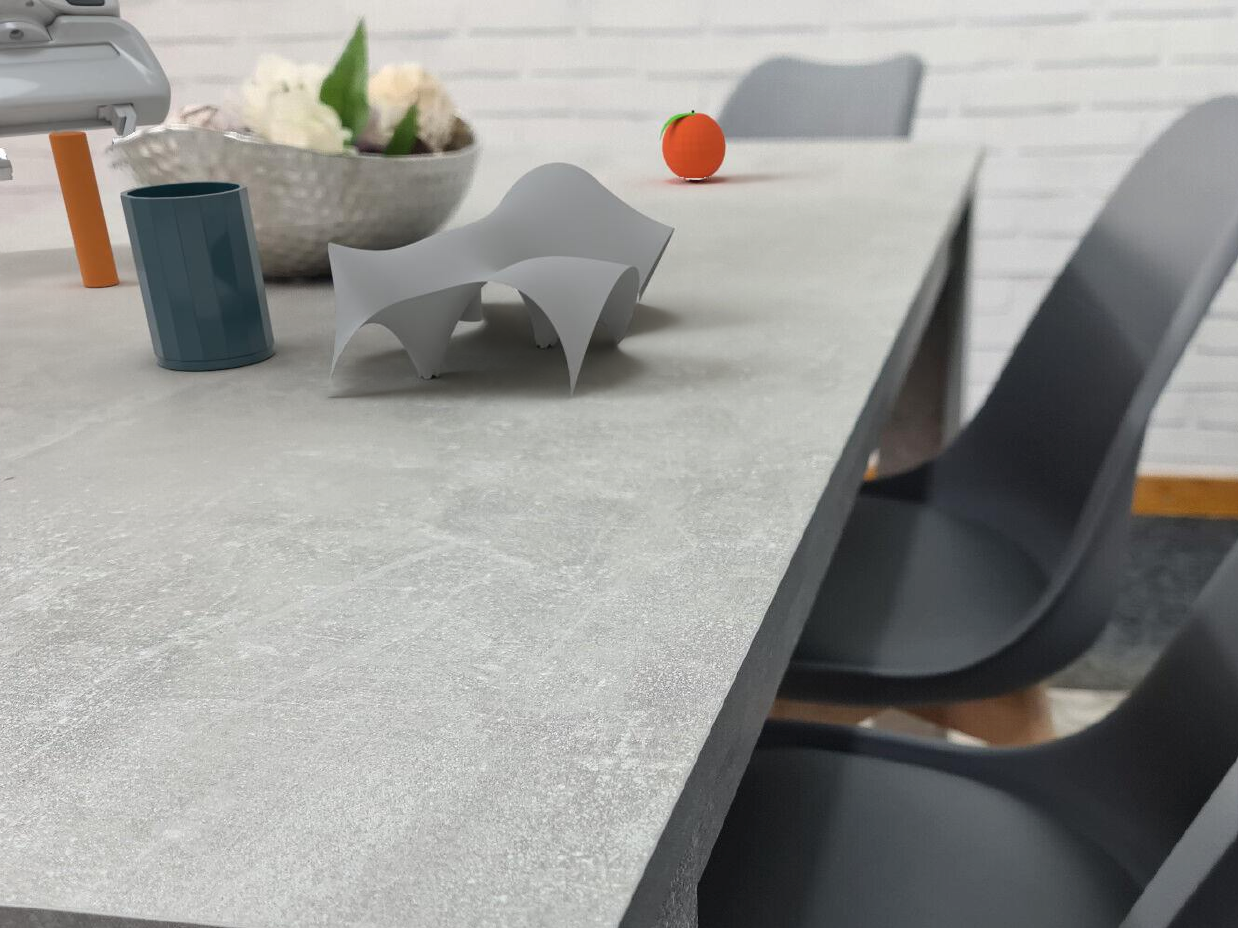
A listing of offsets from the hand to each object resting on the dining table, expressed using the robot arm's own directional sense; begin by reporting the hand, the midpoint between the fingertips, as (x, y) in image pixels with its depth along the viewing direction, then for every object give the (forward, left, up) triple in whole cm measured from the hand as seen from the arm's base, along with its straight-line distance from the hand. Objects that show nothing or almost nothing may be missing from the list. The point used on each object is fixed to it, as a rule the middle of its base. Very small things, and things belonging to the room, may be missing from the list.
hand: (67, 169), depth 111 cm
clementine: (+60, +30, -8) cm, 68 cm away
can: (+8, -31, -8) cm, 33 cm away
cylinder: (+1, -2, -8) cm, 9 cm away
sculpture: (+27, -36, -8) cm, 46 cm away
